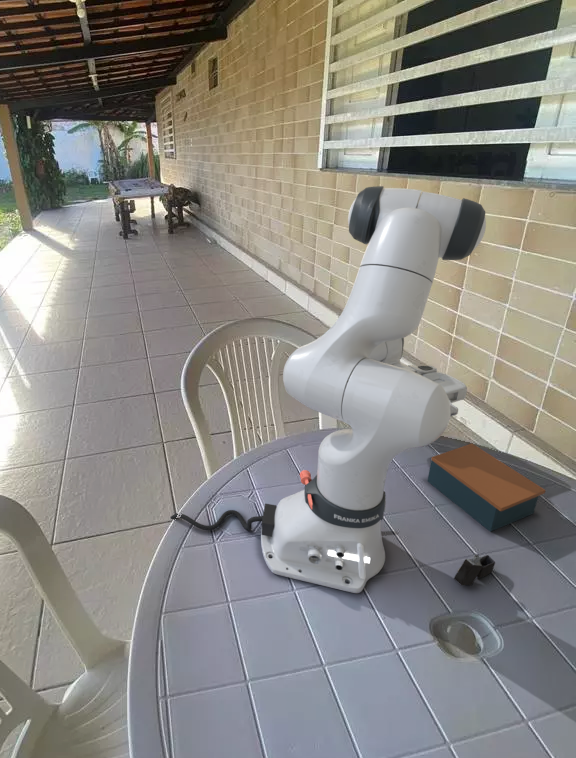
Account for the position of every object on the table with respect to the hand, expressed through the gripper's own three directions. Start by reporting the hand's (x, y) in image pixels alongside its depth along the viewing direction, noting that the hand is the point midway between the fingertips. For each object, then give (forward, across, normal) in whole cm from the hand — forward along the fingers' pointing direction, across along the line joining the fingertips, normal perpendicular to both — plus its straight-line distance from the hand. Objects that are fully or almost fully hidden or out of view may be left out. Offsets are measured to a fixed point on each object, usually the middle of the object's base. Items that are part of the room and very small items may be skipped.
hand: (452, 413), depth 91 cm
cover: (+9, 0, +9) cm, 13 cm away
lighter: (+22, -18, +15) cm, 32 cm away
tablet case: (+9, 0, +15) cm, 17 cm away
